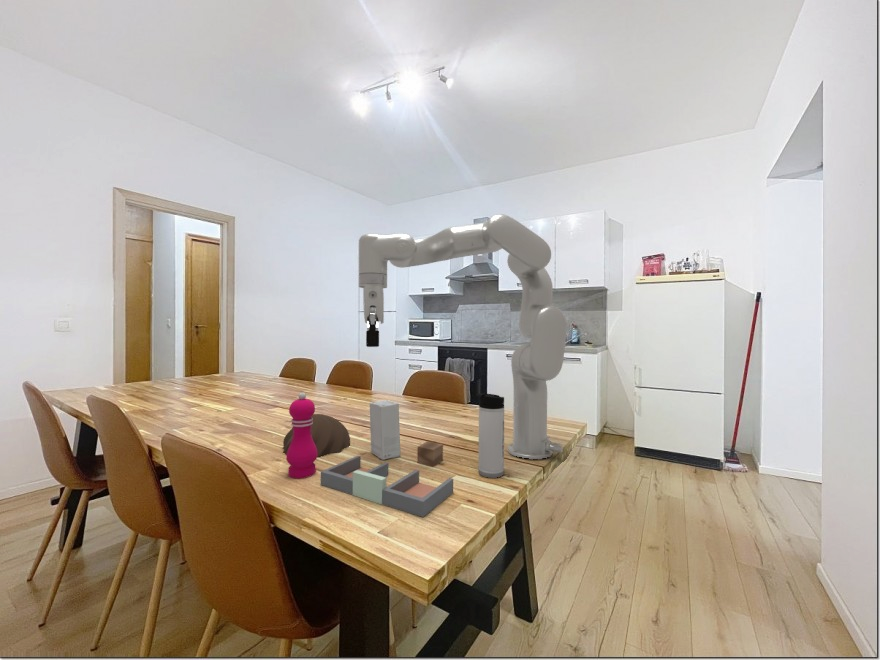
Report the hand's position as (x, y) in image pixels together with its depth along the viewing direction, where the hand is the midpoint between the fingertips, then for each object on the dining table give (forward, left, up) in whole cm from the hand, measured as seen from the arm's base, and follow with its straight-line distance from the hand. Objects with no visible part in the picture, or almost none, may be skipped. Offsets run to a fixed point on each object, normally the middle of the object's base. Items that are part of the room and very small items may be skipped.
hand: (372, 345), depth 98 cm
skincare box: (+1, -6, -31) cm, 32 cm away
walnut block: (-13, -8, -31) cm, 35 cm away
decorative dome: (+23, -1, -32) cm, 39 cm away
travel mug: (-30, -9, -31) cm, 45 cm away
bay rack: (-13, +11, -31) cm, 36 cm away
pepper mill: (+10, +15, -31) cm, 36 cm away
